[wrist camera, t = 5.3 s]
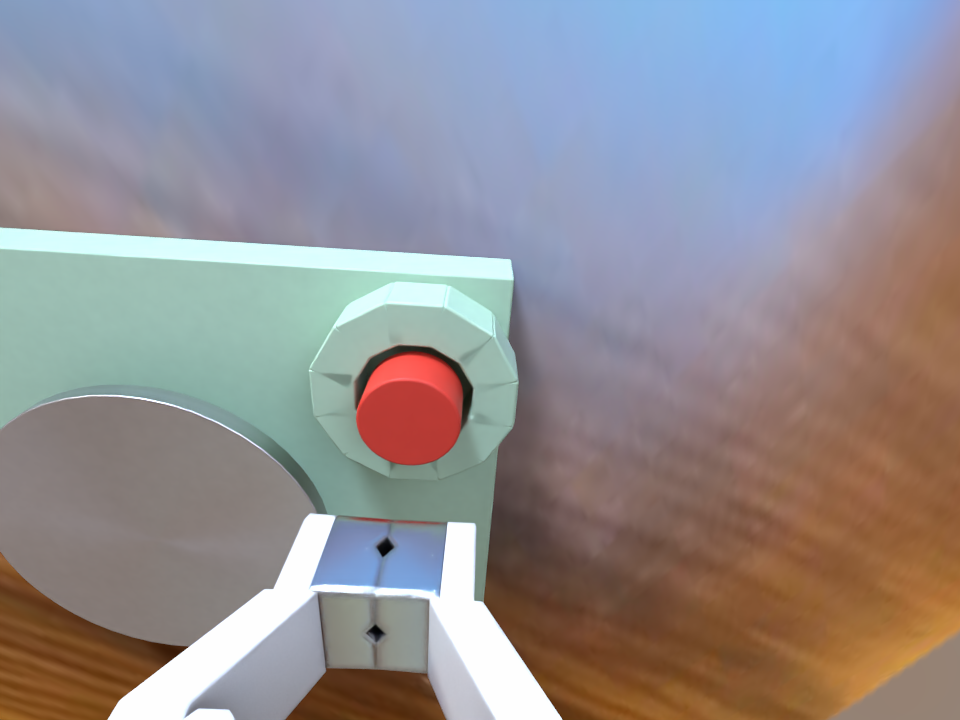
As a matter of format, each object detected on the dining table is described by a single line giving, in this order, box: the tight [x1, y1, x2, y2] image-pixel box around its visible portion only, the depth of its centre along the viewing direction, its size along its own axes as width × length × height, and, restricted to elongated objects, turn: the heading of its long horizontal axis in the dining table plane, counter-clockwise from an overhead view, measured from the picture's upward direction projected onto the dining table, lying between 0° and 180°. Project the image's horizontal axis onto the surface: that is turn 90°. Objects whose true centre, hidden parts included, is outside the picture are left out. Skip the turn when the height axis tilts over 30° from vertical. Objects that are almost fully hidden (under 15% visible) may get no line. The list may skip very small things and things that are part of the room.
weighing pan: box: [0, 385, 328, 647], centre depth 16 cm, size 10×10×1 cm
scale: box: [0, 228, 519, 602], centre depth 17 cm, size 16×14×4 cm
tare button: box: [356, 351, 463, 465], centre depth 13 cm, size 3×3×2 cm
